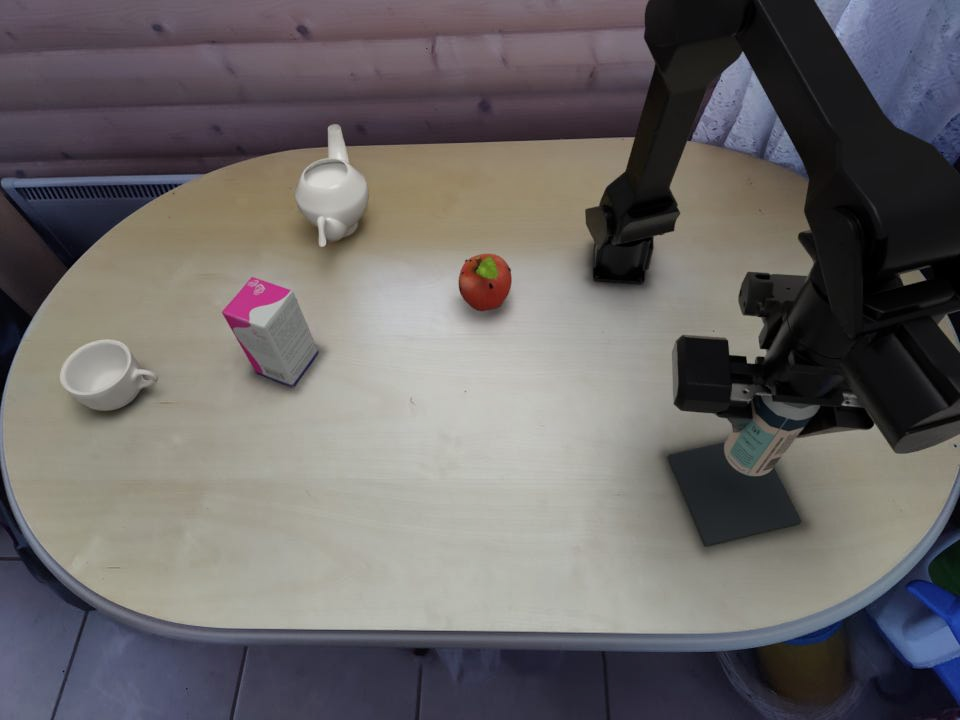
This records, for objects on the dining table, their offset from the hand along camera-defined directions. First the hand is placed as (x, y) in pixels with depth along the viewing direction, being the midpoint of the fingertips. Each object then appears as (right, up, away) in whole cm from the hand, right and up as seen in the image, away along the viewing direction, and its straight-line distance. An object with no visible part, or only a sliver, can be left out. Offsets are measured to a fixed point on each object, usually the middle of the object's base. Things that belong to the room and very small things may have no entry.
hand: (764, 430), depth 61 cm
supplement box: (-49, +6, +21) cm, 53 cm away
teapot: (-45, +25, +34) cm, 61 cm away
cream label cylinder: (0, -3, +4) cm, 5 cm away
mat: (0, -7, +9) cm, 12 cm away
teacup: (-67, +2, +20) cm, 70 cm away
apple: (-24, +13, +25) cm, 37 cm away
